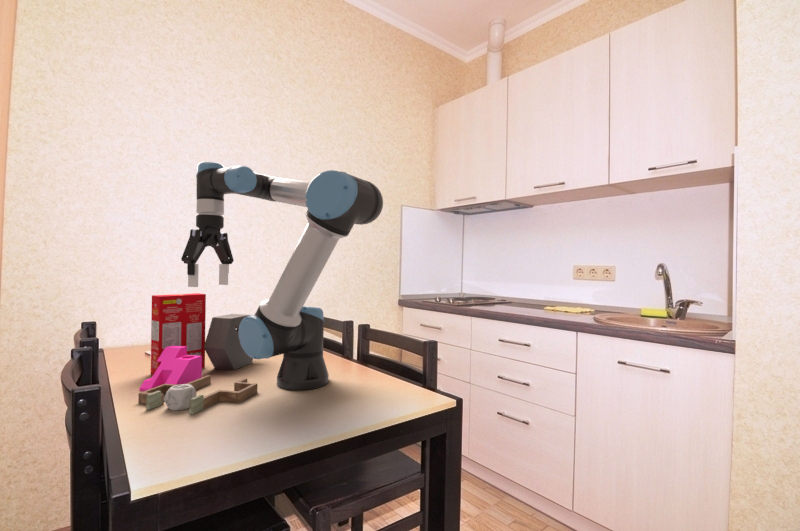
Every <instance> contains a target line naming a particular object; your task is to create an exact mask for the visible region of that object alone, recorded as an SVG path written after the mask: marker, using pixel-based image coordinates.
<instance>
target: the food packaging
mask: <svg viewBox="0 0 800 531" xmlns="http://www.w3.org/2000/svg"><path fill="white" fill-rule="evenodd" d="M206 296H207V294H206V293H197V292H196V293H175V294H174V293H173V294H156V295H151V318H150V319H151V322H150V323H151V326H150V331H151V333H150V336H151V337H150V375H152V376H153V375H154V373H155V372H156V370H157V368H158V367H159V365H160V364H161V362H158V361H157V360H158V358H159V357H160V355H161V354H162V352H163V351H164V349H165V347H169V346H187V355H195V356H202V369H205V368H206V365H205V364H206V351H205V349H204V345H205V341H206V316H207V314H206V311H207V310H206V309H207V308H206V306H207V302H206V300H207V297H206Z"/></svg>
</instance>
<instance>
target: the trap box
mask: <svg viewBox="0 0 800 531" xmlns="http://www.w3.org/2000/svg"><path fill="white" fill-rule="evenodd" d="M211 376H212V375H209V374H208V375H205V376H202V378H199V379H197V380H194V381H192V382H189V383H186V384H190V385H192V386H193V387H194V388H195V390H196V391H198V390H199V389H202V388H204V387H206V386H208V385H211V382H212V379H211V378H212V377H211ZM172 386H175V384H162V385H160V386H157V387H154V388H151V389H149V390H146V391H140V392H139V393H138V401H137V403H138V404H145V407H146V410H148V411H150V410H153V409H155V408H157V407H160V406H162V405H164V404H165V395H166V393H167V391H168V390H169V388H170V387H172ZM233 387H234V389H233V390H226V389H225V390H224V389H217V390H215V391H212V392H211V393H209V394H207V395H204V394H198V395H196V397H193V398H191V399H190V408H189V415H194V414H197V413H199V412H201V411H202V410H205V409H207V408H209V407H211V406H213V405H215V404H217V403H218V402H227V403H238V404H239V403H241V402H243V401H245V400H247V399H249V398H250V397H252V396H254V395H256V394H257V393H258V383H257V382H248V377H246V378H245V377H244V378H241V379H240V380H237V381H235V382H233Z"/></svg>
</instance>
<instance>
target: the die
mask: <svg viewBox="0 0 800 531" xmlns="http://www.w3.org/2000/svg"><path fill="white" fill-rule="evenodd" d="M196 396H197V390H195V388H194V387H193V386H192V385H190V384H180V385H175V386H172V387H170V388H169V390H168V391H167V393H166V395H165V402H164V404H165V405H166V407H167V408H168V409H169V410H171V411H182V410H184V411H185V410H187V409H190V399H191V398H193V397H196Z"/></svg>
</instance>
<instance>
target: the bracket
mask: <svg viewBox="0 0 800 531" xmlns="http://www.w3.org/2000/svg"><path fill="white" fill-rule="evenodd" d="M157 361H158V362H161V364H160V365H159V367H158V368H157V370H156V372H155V373H154V375H152V376H151V377H149V378H146V379H144V380H143V382H142V383H141V385H140V386H139V389H138V390H139V391H140V392H143V391H146V390H149V389H151V388H154V387H157V386H160V385H162V384H175V385H180V384H186V383H189V382H192V381H194V380H197V379H199V378H202V377H203V376H202V372H203V368H202V356H195V355H187V346H169V347H165V349H164V351H163V352H162V354H161V355H160V357H159V358H158V360H157Z"/></svg>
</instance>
